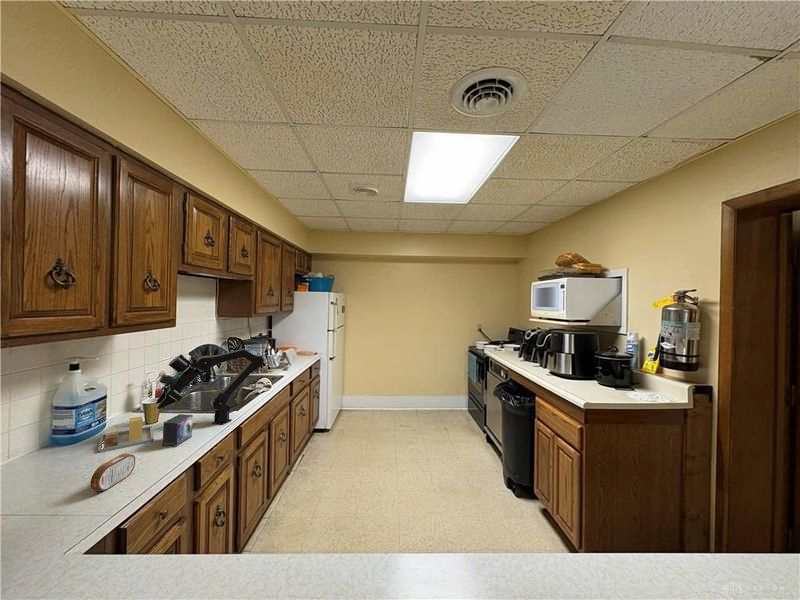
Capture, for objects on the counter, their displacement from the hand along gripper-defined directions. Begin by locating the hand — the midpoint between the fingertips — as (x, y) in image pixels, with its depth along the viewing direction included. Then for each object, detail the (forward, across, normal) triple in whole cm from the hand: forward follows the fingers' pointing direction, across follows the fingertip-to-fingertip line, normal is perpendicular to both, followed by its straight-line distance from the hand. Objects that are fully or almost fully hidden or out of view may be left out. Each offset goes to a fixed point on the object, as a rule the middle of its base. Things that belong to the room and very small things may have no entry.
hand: (157, 405), depth 153 cm
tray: (+17, 0, +2) cm, 17 cm away
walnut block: (+20, +4, -2) cm, 21 cm away
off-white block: (+20, -4, -2) cm, 21 cm away
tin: (+19, +40, 0) cm, 44 cm away
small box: (+5, +14, +14) cm, 21 cm away
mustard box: (+14, 0, +4) cm, 15 cm away
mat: (+4, -6, +15) cm, 17 cm away
